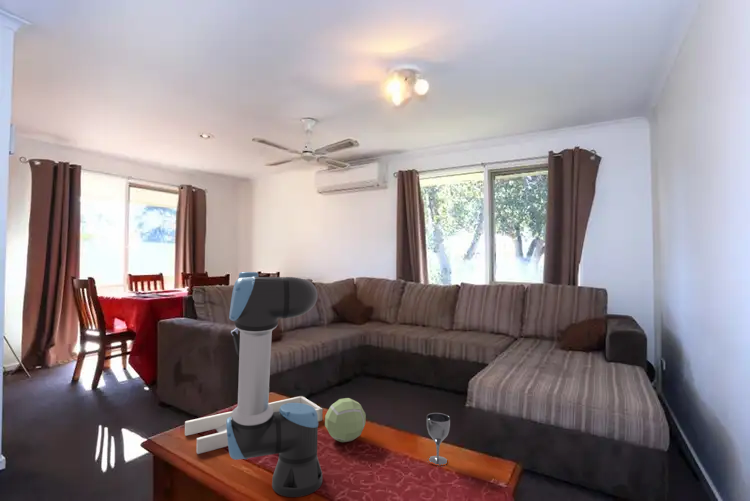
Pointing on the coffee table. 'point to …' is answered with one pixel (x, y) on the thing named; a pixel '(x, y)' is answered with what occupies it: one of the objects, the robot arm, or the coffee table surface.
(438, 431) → the wine glass
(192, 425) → the trap lane
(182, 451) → the coffee table surface
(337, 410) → the tennis ball
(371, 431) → the coffee table surface
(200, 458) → the coffee table surface
